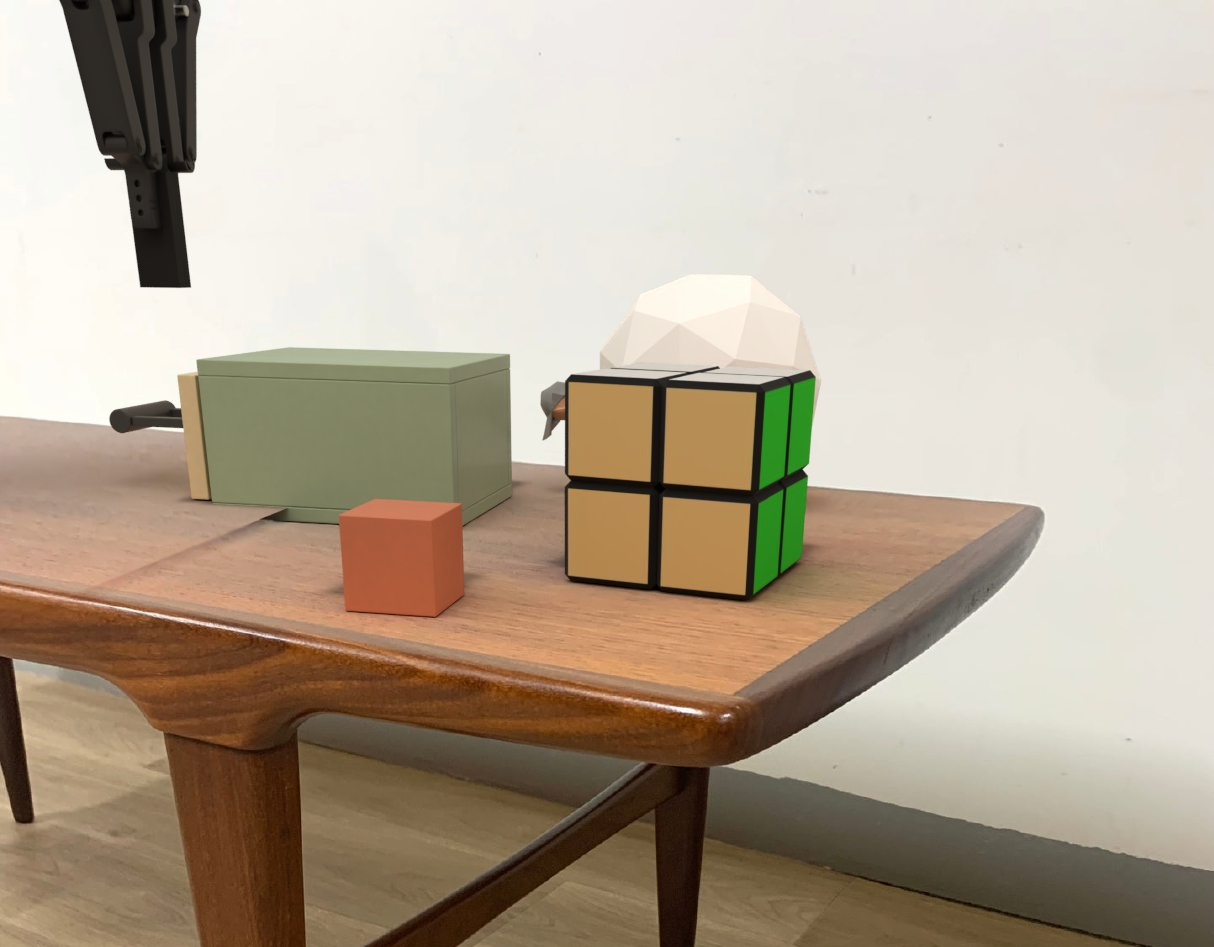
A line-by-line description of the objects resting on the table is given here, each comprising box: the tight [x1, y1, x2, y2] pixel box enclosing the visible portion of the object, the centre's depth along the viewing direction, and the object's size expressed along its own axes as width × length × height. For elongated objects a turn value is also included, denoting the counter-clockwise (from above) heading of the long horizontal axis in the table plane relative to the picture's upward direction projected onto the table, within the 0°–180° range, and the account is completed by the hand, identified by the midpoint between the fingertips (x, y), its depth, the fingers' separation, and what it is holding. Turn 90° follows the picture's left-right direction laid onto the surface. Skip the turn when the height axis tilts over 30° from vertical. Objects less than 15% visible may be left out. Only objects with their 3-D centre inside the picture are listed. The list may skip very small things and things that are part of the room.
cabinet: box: [195, 346, 513, 527], centre depth 80 cm, size 16×13×9 cm
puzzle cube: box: [564, 363, 816, 601], centre depth 64 cm, size 10×10×10 cm
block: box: [338, 499, 466, 618], centre depth 58 cm, size 4×4×4 cm
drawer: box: [108, 371, 212, 500], centre depth 81 cm, size 21×12×7 cm, turn 78°
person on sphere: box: [540, 273, 822, 441], centre depth 84 cm, size 14×15×20 cm
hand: (165, 287), depth 79 cm, fingers closed
